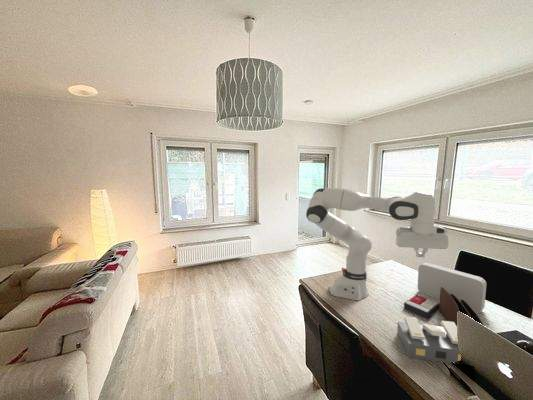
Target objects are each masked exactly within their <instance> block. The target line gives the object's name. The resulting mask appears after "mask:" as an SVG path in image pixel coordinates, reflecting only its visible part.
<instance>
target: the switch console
mask: <svg viewBox="0 0 533 400" xmlns="http://www.w3.org/2000/svg"><path fill="white" fill-rule="evenodd" d="M422 324H423V323H422ZM422 324H420V323H419V325H420V327H421V330H422V332H423V334H424V336H425V339H424V340H420V339H412V338H411V335H410V333H409V330H408V327H407V325H406V322H405V321H404V322H403V321H397V330H396V331H397V336H398V338H399V340H400V342H401V345H402V347H403V349H404V351H405V353H406V355H407V357H408V358H411V359H413V358H414V359H420V360H427V361H434V362H438V363H439V362H441V363H445V364H451V363H450V362H457V361H460V360H461V353H460V350H459V348H458V344H453V343H452V342H451V340H450V338H449V336H448V335H447V333H446V331H445V330H444V328H443V326H438V325H435V326H436V327H438V328H439V329H441V330H442V331H444V332H445V335H446V337H443V336H435V335H432V334H430V333H429V332H428V331H426V330H425V329H423V328H422Z"/></svg>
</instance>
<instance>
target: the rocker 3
mask: <svg viewBox="0 0 533 400" xmlns="http://www.w3.org/2000/svg"><path fill="white" fill-rule="evenodd" d="M440 325H441V327H443V328H444V330H445V331H446V333H447V335H448V336H449V338H450V340H451V342H452V343H453V344H458V338H457V326H456V325H455V323H454V322H450V321H446V320H441V322H440Z"/></svg>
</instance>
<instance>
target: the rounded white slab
mask: <svg viewBox="0 0 533 400" xmlns="http://www.w3.org/2000/svg"><path fill="white" fill-rule="evenodd" d="M417 272H418V273H417V274H418V275H417V290H418V292H420V293H422V294H424V295H426V296H429V297H431V298H433V299H436V300H439V298H440V291H441V287H443V288H444V289H445V290H446V291H447V292H448V293H449V294H450V295H451V294H453V295H454V296H456V297H457V298H458V299H459V301H460V302H461V299H462V300H464V301H465V302H466V303H467V304H468V305H469V306H470V307H471V308H472V309H473V310H474V312H475V313H476V314H477V315H478V314H480V313H482V311H483V310H484V309H485V304H486V303H485V302H486V296H487V295H486V293H487V281H486V280H485V279H484V278H483V277H481V276H478V275H474V274H471V273H467V272H463V271H459V270H456V269H453V268H452V269H451V268H449V267H445V266H442V265H438V264H434V263H430V262H423V263H422V264H420V265H418V271H417Z"/></svg>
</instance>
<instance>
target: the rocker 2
mask: <svg viewBox="0 0 533 400" xmlns="http://www.w3.org/2000/svg"><path fill="white" fill-rule="evenodd" d="M436 326H437V325H434V324H428V323H422V328H423V329H425V330H426V331H428V332H429V333H430V334H432V335H435V336H443V337H446V335H445V332H444V331H442V330H441V329H439V328H438V327H436Z"/></svg>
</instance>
